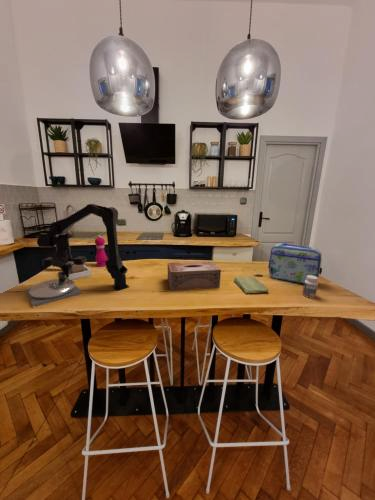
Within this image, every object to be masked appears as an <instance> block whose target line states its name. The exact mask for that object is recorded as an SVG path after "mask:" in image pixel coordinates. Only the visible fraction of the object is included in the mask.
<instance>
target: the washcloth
mask: <svg viewBox="0 0 375 500" xmlns="http://www.w3.org/2000/svg"><path fill="white" fill-rule="evenodd" d="M233 282H234V283H235V284H236V285H237V286H238V287H239V288H240V289H241V290H242V291H243V292H244V293H245V294H246V295H247V294H260V293H261V294H262V293H268V292H269V288H267V286H266V285H264V283H262V282H261V281H260V280H258V279H257V278H256V277H254V276H245V277H244V276H243V277H242V276H235V277H234V280H233Z"/></svg>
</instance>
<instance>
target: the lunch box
mask: <svg viewBox="0 0 375 500" xmlns="http://www.w3.org/2000/svg"><path fill="white" fill-rule="evenodd" d="M269 255H270V256H269V259H268V267H267V268H268V271H269V272H268V273H269V275H270V277H271V278H272V279H275V280H283V281H288V282H294V283H298V284H303V285H304V282H305V280H307V278H306V277H307V275H312V276H316V277H317V278H318V279H319V276H320V270H321V266H322V252H321V251H320V250H319V249H318V248H315V247H312V246H307V245H300V244H299V245H298V244H291V243H287V242H284V243H277V244H275V246H274V245H273V247H272V248H271V250H270V254H269Z"/></svg>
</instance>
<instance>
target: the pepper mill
mask: <svg viewBox="0 0 375 500" xmlns="http://www.w3.org/2000/svg"><path fill="white" fill-rule="evenodd" d="M105 243H106V239H105V238H103V237H102V236H101V235H97V238H95V239H94V244H95V247H96V255H95V258H94V259H95V260H94V261H95V262H96V267H98V268H102V267H103V268H104V267H106V264H105V261H106V260H107V259H108V256H107V254H106V252H105Z"/></svg>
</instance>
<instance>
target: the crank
mask: <svg viewBox="0 0 375 500" xmlns="http://www.w3.org/2000/svg"><path fill="white" fill-rule="evenodd" d="M57 276H58V278H57V279H56V278H55V279H50V280H45V281H42V282H39V283H37V284H35V285H33V286H31V288H29V289H30V290H29V293H30V296H31V297H32V298H35V299H50V298H55V297H59V296H63V295H65V294H67V293H69V292H71V291H72V290H73V289H74V288H75V285H76V284H75V282H74V280H69V279H67V278H66V277H65V274H64V272H63V271H62V270H61V271H58V272H57Z"/></svg>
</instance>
